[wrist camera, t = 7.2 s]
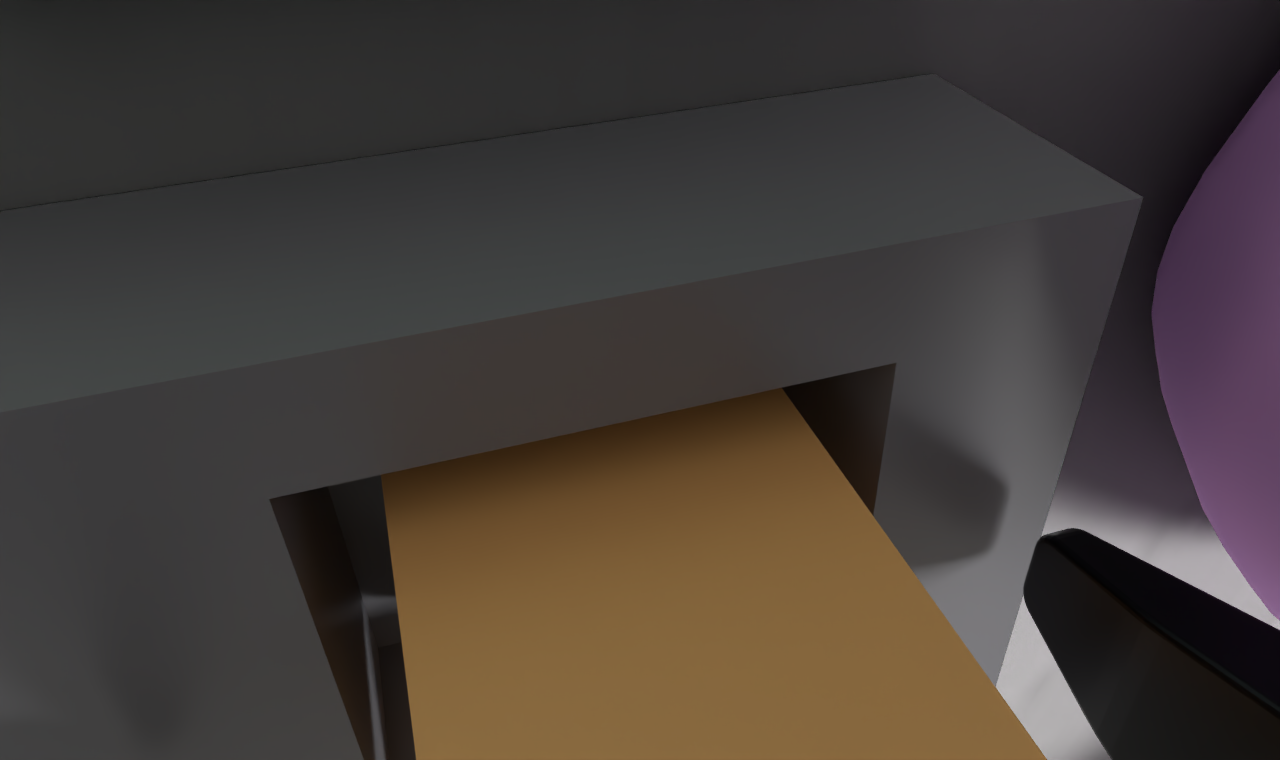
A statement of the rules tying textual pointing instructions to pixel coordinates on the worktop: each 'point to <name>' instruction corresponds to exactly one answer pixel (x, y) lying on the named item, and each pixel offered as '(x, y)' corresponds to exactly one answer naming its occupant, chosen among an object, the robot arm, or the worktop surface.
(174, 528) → the strip
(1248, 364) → the teapot
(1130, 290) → the worktop surface
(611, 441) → the orange block
